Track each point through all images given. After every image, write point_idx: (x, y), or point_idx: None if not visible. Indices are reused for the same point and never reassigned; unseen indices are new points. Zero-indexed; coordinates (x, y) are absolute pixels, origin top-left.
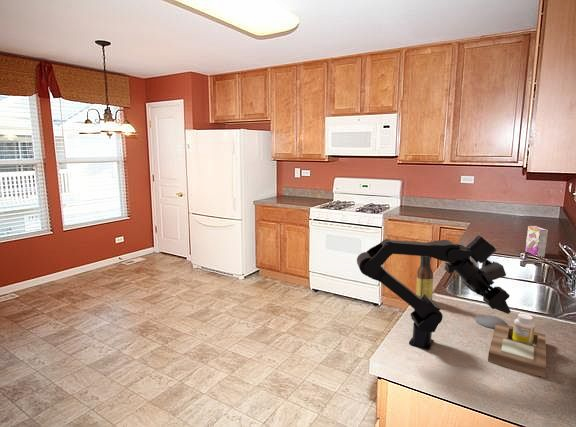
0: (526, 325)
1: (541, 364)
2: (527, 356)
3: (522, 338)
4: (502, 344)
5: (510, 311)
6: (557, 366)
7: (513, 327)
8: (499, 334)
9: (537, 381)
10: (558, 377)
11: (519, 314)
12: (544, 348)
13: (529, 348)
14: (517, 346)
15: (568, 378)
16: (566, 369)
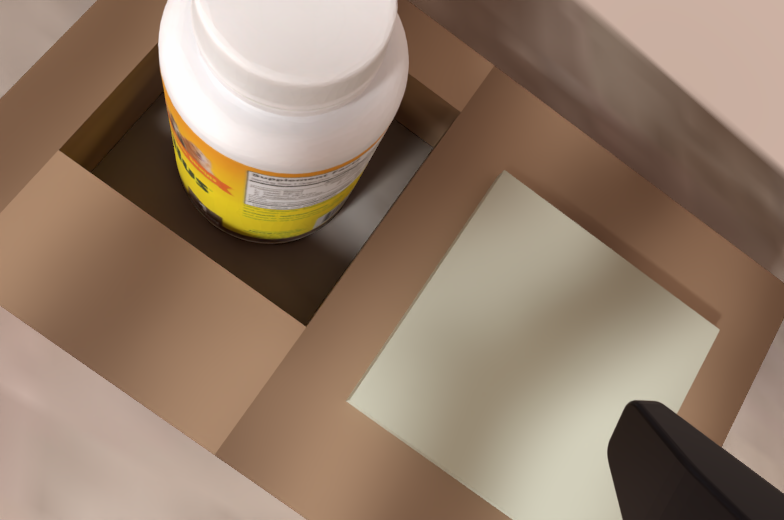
0: (389, 85)
1: (747, 292)
2: (680, 356)
3: (356, 180)
4: (478, 488)
5: (665, 410)
6: (579, 96)
7: (40, 82)
8: (208, 365)
9: (776, 390)
10: (712, 196)
11: (236, 37)
12: (493, 75)
13: (540, 238)
14: (508, 338)
15: (716, 134)
16: (612, 61)
